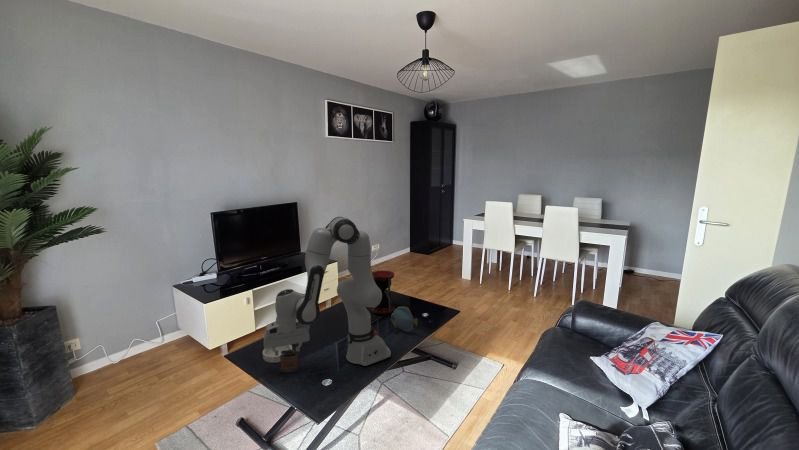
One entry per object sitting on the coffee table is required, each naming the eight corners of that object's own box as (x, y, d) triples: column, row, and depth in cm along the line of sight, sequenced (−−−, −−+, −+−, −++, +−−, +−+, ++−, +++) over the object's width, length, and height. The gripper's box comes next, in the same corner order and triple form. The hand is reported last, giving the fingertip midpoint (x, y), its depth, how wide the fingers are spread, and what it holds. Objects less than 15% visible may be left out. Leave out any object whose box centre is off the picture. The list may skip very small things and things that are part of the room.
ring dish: (290, 345, 180) (290, 340, 179) (293, 358, 167) (293, 353, 167) (262, 351, 174) (262, 346, 174) (263, 365, 162) (263, 359, 161)
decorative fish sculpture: (395, 322, 207) (395, 299, 205) (422, 330, 196) (423, 306, 194) (383, 330, 197) (383, 305, 195) (411, 339, 186) (411, 313, 184)
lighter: (299, 367, 160) (297, 347, 159) (298, 371, 157) (297, 351, 155) (281, 368, 159) (280, 349, 157) (280, 372, 156) (278, 352, 154)
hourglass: (365, 309, 227) (365, 273, 223) (384, 303, 238) (383, 268, 234) (381, 316, 215) (380, 279, 211) (399, 309, 226) (399, 273, 222)
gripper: (308, 318, 162) (309, 345, 163) (262, 325, 153) (263, 354, 155) (310, 323, 156) (311, 351, 158) (263, 331, 148) (264, 360, 149)
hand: (287, 353), depth 156 cm, fingers open, 8 cm apart
